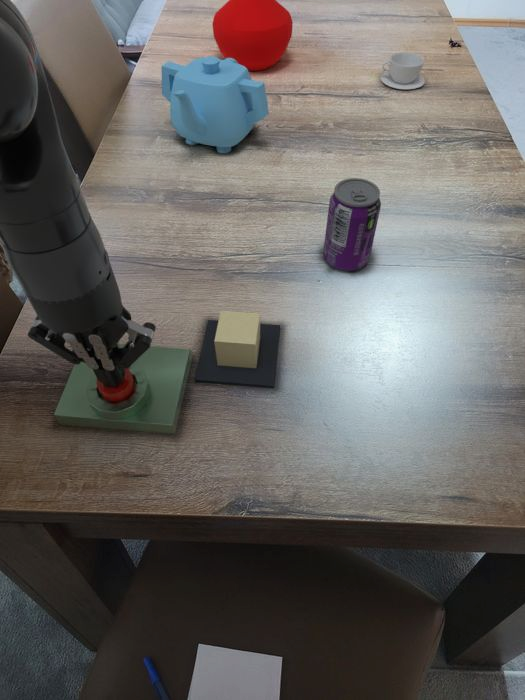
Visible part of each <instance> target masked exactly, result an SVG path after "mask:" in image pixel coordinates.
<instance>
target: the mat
mask: <svg viewBox="0 0 525 700" xmlns="http://www.w3.org/2000/svg"><path fill="white" fill-rule="evenodd" d="M218 321H219V320H213V319H208V320H207V323H206V328H205V332H204V335H203V340H202V345H201V350H200V354H199V359H198V364H197V368H196V372H195V377H194V382H195V383H203V384H217V385H228V386H241V387H242V386H243V387H253V388H265V389H274V388H275V384H276V383H275V381H276V374H277V373H276V372H277V363H278V354H279V353H278V352H279V343H280V333H281V325H280V324H272V323H271V324H270V323H269V324H268V323H260V344H259V352H258V359H257V367H256V368H245V367H232V366H220V365H218V364H217V357H216V350H215V342H214V340H215V336H216V331H217V326H218Z"/></svg>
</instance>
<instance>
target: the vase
mask: <svg viewBox="0 0 525 700" xmlns="http://www.w3.org/2000/svg"><path fill="white" fill-rule="evenodd" d="M212 19H213V20H212V34H213V38H214V41H215V43H216V45H217V48H218V49H219V50H218V51H219V52H220V53H221V54H222V55H223V57H224V59H226V58H233V59H235V60H236V61H237V62H238V64H240V65H243V66H245V67H246V68H247V70H248V72H258V71H264V70H267V69H269V68H271V67H273V66H274V65H275V64H276V63H278V62H279V60H280V59H281V58H282V57H283V55H284V54H285V53H286V51H287V49H288V47H289V45H290V40H291V39H292V36H293V24H294V23H293V18H292V15H291V13H290V11H289V10H288V9H287V8H285V7H284V6H283V4H281V3H280V2H278V0H228V1H227V2H225V3H224V4H223V5H222V6H221V7H220V8H219V9H218V10H217V11H216V12H215V14H214V16H213V18H212Z"/></svg>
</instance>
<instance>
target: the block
mask: <svg viewBox="0 0 525 700" xmlns="http://www.w3.org/2000/svg"><path fill="white" fill-rule="evenodd" d="M217 321H218V326H217V331H216V336H215V340H214V342H215V350H216V357H217V364H218V365H220V366H232V367H245V368H256V367H257V359H258V352H259V344H260V324H261V313H260V312H259V313H258V312H246V311H231V310H220V311H219V317H218V320H217Z"/></svg>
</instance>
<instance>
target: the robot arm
mask: <svg viewBox="0 0 525 700" xmlns="http://www.w3.org/2000/svg"><path fill="white" fill-rule="evenodd" d="M51 95H52V94H51V92H50V89H49V85H48V81H47V77H46V73H45V70H44V67H43V64H42V59H41V57H40V54H39V51H38V47H37V43H36V41H35V39H34V36H33V33H32V31H31V29H30V26H29V25H28V23H27V21H26V19H25V17H24V16H23V14H22V13H21V11H20V10H19V8H18V7H17V6H16V4H15V3H14V2H13V1H12V0H0V244H1V245H0V246H1V247H2V249H3V252H4V256H5V258H6V260H7V263H8V266H9V268H10V269H11V272H12V273H13V274H14V276H15V278H16V280H17V283H18V284H19V285H20V287H21V290H23V292H24V294H25V296H26V298H27V299H28V301H29V303H30V305H31V307H32V308H33V310H34V312H35V313H36V317H35V319H34V321H33V323H32V325H31V326H30V328H29V331H28V333H27V336H28V338H29V339H31V340H33V341H35V342H36V343H38V344H39V345H40V346H43V347H44V348H45V349H48V350H49V351H51V352H52V353H54V354H55V355H58V356H59V357H61V358H62V359H63V360H66V361H67V362H69V363H70V364H72V365H74V364H76V365H78V364H80V363H81V362H84V363H86V364H87V366H88V367H89V368H91V369H93V371H94V373H95V375H96V377H97V379H98V380H99V381H100V382H102V383H103V385H104V387H114V388H118V386H119V384H122V381H123V378H124V375H125V372H126V371H125V369H127V368H129V367H130V366H131V365H132V364H133V363H134V362H135V361H136V360H137V359H138V358H139V357H140V356H141V355H142V354H143V353H144V352H146V351H147V350H148V349H149V348H150V346H152V341H153V339H154V336H155V332H156V329H157V326H156V325H155V324H154V323H152V322H149V321H148V322H147V321H146V322H144V323H143V325H141V324H140V323H138V322H136V321H135V320H133V319H132V314H131V312H130V311H129V310H128V309H126V308H125V306H124V304H123V302H122V296H121V291H120V288H119V285H118V282H117V279H116V276H115V273H114V271H113V267H112V264H111V262H110V258H109V253H108V251H107V249H106V247H105V244H104V241H103V238H102V236H101V233H100V231H99V228H98V227H97V225H96V224H95V221H94V220H93V218H92V215H91V212H90V211H89V208H88V205H87V201H86V200H85V196H84V194H83V191H82V188H81V185H80V181H79V179H78V176H77V174H76V171H75V170H74V168H73V165H72V163H71V160H70V158H69V156H68V154H67V151H66V148H65V145H64V142H63V139H62V135H61V131H60V127H59V123H58V119H57V114H56V111H55V107H54V104H53V103H54V102H53V100H52V96H51ZM125 334H127V335H128V338H127V340H128V341H127V342H126V343H124V344H125V345H124V347H123V348H120V346H119V344H120V343H119V341H120V340H121V339H122V338H123V337H124V335H125ZM66 343H67V344H69V346H70V348H71V349H72V350H71V349H69V348H68V347H66V345H65V344H66Z"/></svg>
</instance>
